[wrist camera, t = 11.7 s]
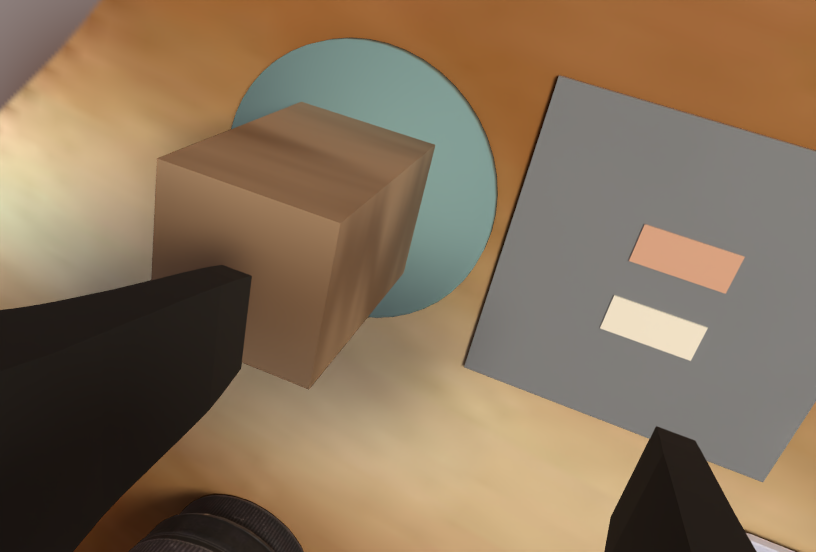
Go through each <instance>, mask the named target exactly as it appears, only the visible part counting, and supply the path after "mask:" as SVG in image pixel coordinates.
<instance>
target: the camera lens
mask: <svg viewBox="0 0 816 552" xmlns="http://www.w3.org/2000/svg"><path fill="white" fill-rule="evenodd" d="M129 552H303V550H302V547H301V546H300V544H299V543H298V541H297V540H296V538H295V537H294V535H293V534H292V533H291V531H290V530H289V529H288V528H287V527H286V526H285V525H284V524H283V523H281V522H280V521H279V520H278V519H277V518H276V517H275V516H273V515H272V514H270V513H269V512H267V511H266V510H264V509H263V508H261V507H259V506H258V505H256V504H253V503H251V502H249V501H246V500H243V499H240V498H237V497H232V496H226V495H211V496H205V497H202V498H200V499H198V500H195V501H193V502H192V503H190V504H189V505H188V506H187V507H186V508H185V509H184V510H183V511H182V512H181V513H180V514H179V515H175V516H173V517H170V518H168V519H166V520H164V521H162V522H161V523H159V524H158V525H157V526H156V527H155V528H154V529H153V530H152V531H151V532H150V533H149V534H148V535H147V536H146V537H145V538H144V539H142V540H141V541H140V542H139V543H138V544H137V545H135V546H134V547H133V548H132V549H131V550H130V551H129Z"/></svg>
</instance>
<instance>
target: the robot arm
mask: <svg viewBox="0 0 816 552" xmlns="http://www.w3.org/2000/svg"><path fill="white" fill-rule="evenodd" d="M251 280H252V276H251V275H249V274H246V273H243V272H240V271H238V270H235V269H232V268H230V267H227V266H224V265H217V266H210V267H205V268H200V269H196V270H191V271H187V272H183V273H179V274H175V275H171V276H167V277H163V278H159V279H155V280H151V281H146V282H142V283H138V284H134V285H130V286H126V287H122V288H118V289H114V290H109V291H104V292H100V293H95V294H90V295H85V296H80V297H76V298H71V299H66V300H61V301H56V302H51V303H46V304H40V305H34V306H27V307H21V308H14V309H6V310H0V552H73V551H74V550H75V549H76V547H77V546H78V545H79V544H80V543H81V541H82V540H83V539H84V538H85V537H86V535H87V534H88V533H89V532H90V531H91V529H92V528H93V527H94V526H95V525H96V523H97V522H98V521H99V520H100V519H101V517H102V516H103V515H104V514H105V513H106V512H107V511H108V510H109V509H110V508H111V507H112V506H113V505H114V504H115V502H116V501H117V500H118V499H119V498H120V497H121V496H122V495H123V494H124V493H125V492H126V491H127V490H128V489H129V488H130V487H131V486H132V485H133V484H134V483H135V482H137V481H138V480H139V479H140V478H141V477H142V476H143V475H144V474H145V473H146V472H147V471H148V470H149V469H150V468H151V467H152V466H153V465H154V464H155V463H156V462H157V461H158V460H159V459H160V458H161V457H162V456H163V455H164V454H165V453H166V452H167V451H168V450H169V449H170V448H171V447H172V446H173V445H175V444H176V443H177V442H178V441H179V440H180V439H181V438H182V437H183V436H184V435H185V434H186V433H187V432H188V431H189V430H190V429H191V428H192V427H193V426H194V425H195V424H196V423H197V422H198V421H199V420H200V419H201V418H202V417H203V416H204V415H205V414H206V413H207V412H208V411H209V410H210V408H211V407H212V406H213V405H214V403H215V402H216V401H217V399H218V398H219V397H220V396H221V394H222V393H223V392H224V391H225V389H226V388H227V387H228V385H229V384H230V383H231V381H232V380H233V378H234V377H235V376H236V374H237V373H238V372H239V370H240V369H241V364H242V356H243V348H244V339H245V331H246V322H247V314H248V305H249V297H250V288H251ZM605 552H794V551H792V550H789V549H787V548H784V547H782V546H779V545H777V544H774V543H772V542H769V541H767V540H764V539H762V538H759V537H757V536H754V535H752V534H749V533H746V532H745V531H744V529H743V527H742V526H741V524H740V522H739V520H738V518H737V517H736V515H735V513H734V511H733V509H732V508H731V506H730V504H729V502H728V500H727V498H726V497H725V495H724V493H723V491H722V489H721V487H720V485H719V484H718V482H717V480H716V478H715V476H714V474H713V472H712V470H711V468H710V467H709V465H708V463H707V461H706V459H705V457H704V455H703V453H702V451H701V450H700V448H699V446H698V444H697V443H696V441H695V440H693V439H690V438H687V437H685V436H682V435H679V434H676V433H674V432H671V431H668V430H666V429H663V428H660V427H658V426H656V427H655V429H654V431H653V433H652V435H651V437H650V439H649V441H648V443H647V445H646V447H645V449H644V451H643V453H642V455H641V457H640V459H639V461H638V463H637V465H636V467H635V470H634V472H633V474H632V476H631V478H630V480H629V482H628V484H627V486H626V488H625V490H624V492H623V494H622V496H621V498H620V500H619V502H618V504H617V506H616V508H615V510H614V512H613V514H612V516H611V519H610V524H609V530H608V535H607V540H606V546H605Z"/></svg>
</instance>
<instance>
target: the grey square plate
mask: <svg viewBox="0 0 816 552" xmlns="http://www.w3.org/2000/svg"><path fill="white" fill-rule="evenodd" d="M464 367H465V368H468V369H470V370H473V371H475V372H478V373H481V374H483V375H486V376H488V377H491V378H493V379H496V380H499V381H501V382H504V383H506V384H509V385H512V386H514V387H517V388H519V389H522V390H525V391H527V392H530V393H532V394H535V395H538V396H540V397H543V398H545V399H548V400H551V401H553V402H556V403H558V404H561V405H564V406H566V407H569V408H571V409H574V410H577V411H579V412H582V413H584V414H587V415H590V416H592V417H595V418H597V419H600V420H602V421H605V422H608V423H610V424H613V425H615V426H618V427H621V428H623V429H626V430H628V431H631V432H634V433H636V434H639V435H641V436H644V437H647V438H649V439H650V437H651V435H652V433H653V431H654V429H655V427H656V426H658V427H660V428H663V429H666V430H668V431H671V432H674V433H676V434H679V435H682V436H685V437H687V438H690V439H693V440H695V441H696V443H697V444H698V446H699V448H700V450H701V451H702V453H703V455H704V457H705V459H706V461H709V462H711V463H714V464H717V465H719V466H722V467H724V468H727V469H730V470H732V471H735V472H737V473H740V474H743V475H745V476H748V477H750V478H753V479H756V480H758V481H761V482H763V481H764V480H765V478H766V477H767V475H768V474H769V472H770V471H771V469H772V468H773V466H774V465H775V463H776V462H777V460H778V458H779V457H780V455H781V454H782V452H783V451H784V449H785V448H786V446H787V445H788V443H789V442H790V440H791V439H792V437H793V435H794V434H795V432H796V431H797V429H798V428H799V426H800V425H801V423H802V422H803V420H804V419H805V417H806V416H807V414H808V412H809V411H810V409H811V408H812V406H813V405H814V403H815V402H816V150H812V149H809V148H806V147H802V146H799V145H795V144H792V143H789V142H785V141H782V140H778V139H775V138H772V137H768V136H765V135H761V134H758V133H755V132H751V131H748V130H744V129H741V128H738V127H734V126H731V125H727V124H724V123H721V122H717V121H714V120H711V119H707V118H704V117H700V116H697V115H694V114H690V113H687V112H683V111H680V110H677V109H673V108H670V107H666V106H663V105H660V104H656V103H653V102H649V101H646V100H643V99H639V98H636V97H632V96H629V95H626V94H622V93H619V92H615V91H612V90H609V89H605V88H602V87H599V86H595V85H592V84H588V83H585V82H582V81H578V80H575V79H571V78H568V77H565V76H561V75H559V77H558V80H557V83H556V86H555V90H554V93H553V96H552V99H551V102H550V105H549V108H548V111H547V114H546V117H545V120H544V123H543V126H542V129H541V132H540V136H539V139H538V142H537V145H536V148H535V151H534V154H533V157H532V160H531V163H530V166H529V169H528V172H527V175H526V179H525V182H524V185H523V188H522V191H521V194H520V197H519V200H518V203H517V206H516V209H515V212H514V215H513V218H512V221H511V225H510V228H509V231H508V234H507V237H506V240H505V243H504V246H503V249H502V252H501V255H500V258H499V261H498V264H497V268H496V271H495V274H494V277H493V280H492V283H491V286H490V289H489V292H488V295H487V298H486V301H485V304H484V307H483V311H482V314H481V317H480V320H479V323H478V326H477V329H476V332H475V335H474V338H473V341H472V344H471V347H470V350H469V353H468V357H467V360H466V363H465V366H464Z"/></svg>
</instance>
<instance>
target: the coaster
mask: <svg viewBox="0 0 816 552" xmlns="http://www.w3.org/2000/svg"><path fill="white" fill-rule="evenodd" d="M299 102H304V103H307V104H310V105H313V106H316V107H320V108H323V109H326V110H329V111H332V112H335V113H338V114H341V115H344V116H348V117H351V118H354V119H357V120H360V121H363V122H366V123H369V124H372V125H376V126H379V127H382V128H385V129H388V130H391V131H394V132H397V133H400V134H404V135H407V136H410V137H413V138H416V139H419V140H422V141H425V142H428V143H431V144H435V149H434V153H433V157H432V161H431V165H430V169H429V173H428V177H427V181H426V185H425V189H424V193H423V197H422V201H421V205H420V209H419V213H418V217H417V221H416V225H415V229H414V233H413V237H412V241H411V245H410V249H409V253H408V257H407V262H406V266H405V270H404V273H403V274H402V276H401V277H400V278H399V279H398V281H397V282H396V283H395V284H394V286H393V287H392V288H391V289H390V290H389V292H388V293H387V294H386V295H385V297H384V298H383V299H382V300H381V301H380V303H379V304H378V305H377V306H376V308H375V309H374V310H373V311H372V313H371V314H370V315H369V316H368V317H375V318H381V317H395V316H400V315H405V314H410V313H413V312H416V311H418V310H421V309H424V308H426V307H428V306H430V305H432V304H434V303H436V302H438V301H439V300H441V299H442V298H444V297H445V296H447V295H448V294H449V293H451V292H452V291H453V290H454V289H455V288H456V287H457V286H458V285H459V284H460V283H461V282H463V280H464V279H465V278H466V277H467V275H468V274H469V273H470V272H471V270H472V269H473V268H474V266H475V264H476V263H477V261H478V259H479V257H480V256H481V254H482V252H483V250H484V249H485V247H486V244H487V242H488V239H489V237H490V234H491V232H492V228H493V224H494V219H495V215H496V207H497V197H498V191H497V174H496V168H495V162H494V157H493V153H492V150H491V147H490V144H489V141H488V137H487V135H486V133H485V131H484V129H483V127H482V124H481V122H480V120H479V118H478V117H477V115H476V113H475V112H474V110H473V109H472V107H471V105H470V104H469V102H468V101H467V100H466V98H465V97H464V96H463V95H462V93H461V92H460V91H459V90H458V89H457V87H456V86H455V85H454V84H453V83H452V82H451V81H450V80H449V79H448V78H447V77H445V76H444V75H443V74H442V73H441V72H440V71H439V70H437V69H436V68H435V67H433V66H432V65H431V64H429V63H428V62H426V61H425V60H424V59H422V58H420V57H418V56H416V55H414V54H413V53H411V52H409V51H407V50H405V49H402V48H399V47H397V46H394V45H391V44H389V43H385V42H380V41H376V40H371V39H362V38H339V39H330V40H326V41H321V42H317V43H313V44H309V45H306V46H303V47H301V48H298V49H296V50H293V51H291V52H289V53H288V54H286V55H284V56H283V57H281V58H279V59H278V60H276V61H275V62H274V63H273V64H271V65H270V66H269V67H268V68H267V69H265V70H264V71H263V72H262V73H261V74H260V76H259V77H258V78H257V79H256V80H255V81H254V82H253V84H252V85H251V86H250V88H249V90H248V91H247V93H246V94H245V96H244V97H243V99H242V101H241V104H240V106H239V108H238V110H237V112H236V115H235V118H234V122H233V125H232V128H231V129H233V128H236V127H238V126H241V125H243V124H246V123H248V122H251V121H254V120H256V119H259V118H261V117H264V116H266V115H269V114H271V113H274V112H276V111H279V110H282V109H284V108H287V107H289V106H292V105H294V104H297V103H299Z"/></svg>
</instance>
